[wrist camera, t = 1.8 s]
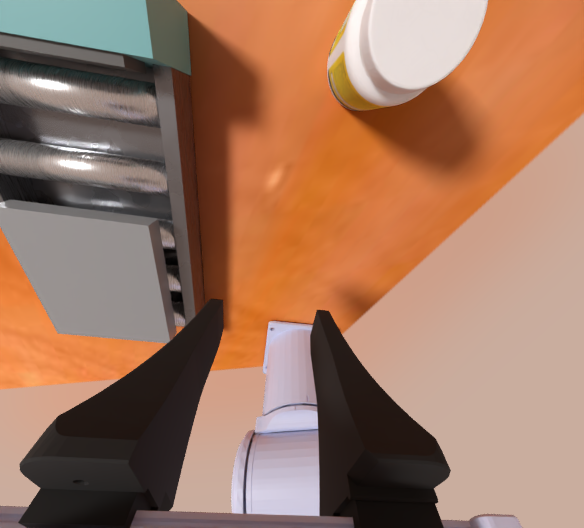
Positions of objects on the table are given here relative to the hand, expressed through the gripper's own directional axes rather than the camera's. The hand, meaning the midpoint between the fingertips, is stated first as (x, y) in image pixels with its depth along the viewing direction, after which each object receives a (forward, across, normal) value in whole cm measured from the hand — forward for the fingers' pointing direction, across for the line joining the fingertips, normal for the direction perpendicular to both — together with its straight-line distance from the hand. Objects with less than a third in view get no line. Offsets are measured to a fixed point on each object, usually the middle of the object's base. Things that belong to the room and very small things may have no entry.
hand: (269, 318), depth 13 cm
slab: (+7, +14, +4) cm, 16 cm away
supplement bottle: (+11, -4, -12) cm, 17 cm away
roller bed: (+10, +14, 0) cm, 17 cm away
